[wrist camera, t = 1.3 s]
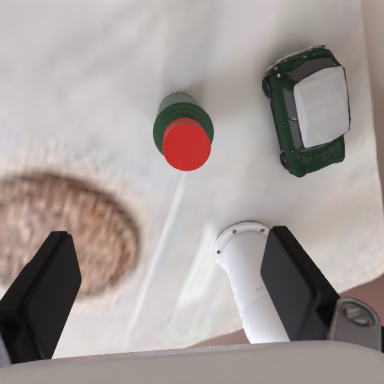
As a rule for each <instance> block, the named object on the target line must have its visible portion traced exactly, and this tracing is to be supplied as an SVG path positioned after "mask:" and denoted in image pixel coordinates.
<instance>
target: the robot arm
mask: <svg viewBox="0 0 384 384" xmlns="http://www.w3.org/2000/svg"><path fill="white" fill-rule="evenodd" d="M214 254H215V258H216V261H217V263H218V264H219V266H220V267H221V268H223V269H224V270H226V271H227V272H228V276H229V279H230V283H231V286H232V289H233V293H234V296H235V300H236V303H237V307H238V310H239V314H240V317H241V320H242V324H243V327H244V330H245V333H246V336H247V338H248V340H249V341H250V342H251V344H240V345H225V346H211V347H197V348H183V349H170V350H156V351H143V352H130V353H117V354H105V355H92V356H80V357H70V358H59V359H51V358H52V356H53V354H54V351H55V349H56V346H57V344H58V341H59V339H60V336H61V333H62V331H63V328H64V326H65V323H66V321H67V318H68V316H69V313H70V311H71V308H72V306H73V303H74V301H75V298H76V296H77V293H78V291H79V288H80V285H81V273H80V269H79V265H78V260H77V256H76V252H75V247H74V243H73V238H72V235H71V234H68V233H67V231H53V232H51V233H50V234H49V236H48V237H47V239H46V240H45V241H44V243H43V244H42V246H41V247H40V249H39V250H38V251H37V253H36V254H35V256H34V257H33V259H32V260H31V261H30V262H29V263H27V264H26V265H25V267H24V268H23V270H22V271H21V272H20V274H19V275H18V277H17V278H16V279H15V281H14V282H13V284H12V285H11V286H10V288H9V289H8V291H7V292H6V293H5V295H4V296H3V298H2V299H1V300H0V384H384V327H383V326H381V321H380V318H379V316H378V315H377V313H376V312H375V311H374V310H373V309H372V308H371V307H370V306H368V305H367V304H366V303H364V302H362V301H360V300H358V299H355V298H352V297H341V298H340V296H339V295H338V294H337V292H336V291H335V290H334V288H333V287H332V286H331V284H330V283H329V282H328V280H327V279H326V278H325V276H324V275H323V274H322V272H321V271H320V270H319V268H318V267H317V266H316V265H315V263H314V262H313V261H312V259H311V258H310V257H309V255H308V254H307V253H306V252H305V250H304V249H303V248H302V246H301V245H300V244H299V242H298V241H297V240H296V238H295V237H294V236H293V234H292V233H291V232H290V230H289V229H288V228H287V227H286V226H274V227H273V228H272V229H269V228H267V227H266V226H264V225H263V224H260V223H256V222H243V223H238V224H236V225H233V226H231V227H229V228H228V229H226V230H225V231H224V232H223V233H222V234H221V235H220V236H219V237H218V239H217V241H216V243H215V247H214Z"/></svg>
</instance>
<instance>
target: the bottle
mask: <svg viewBox="0 0 384 384" xmlns="http://www.w3.org/2000/svg"><path fill="white" fill-rule="evenodd" d="M181 117H188V118H192V119H194V120H196V121H197V122H199V123H200V124H201V126H202V127H203V129H204V130H205V132H206V134H207V135H208V137H209V140H210V144H212V141H213V136H214V129H213V124H212V121H211V119H210V117H209V115H208V114H207V113H206V112H205V110H204V109H203V108H202V107H201V106H200V105H199V104H198V103H197V102H196V101H195V100H194V99H193V98H192V97H191V96H189V95H187V94H184V93H174V94H171V95H169V96H168V97H166V98H165V99H164V100H163V101H162V103H161V105H160V107H159V110H158V114H157V117H156V120H155V123H154V128H153V137H154V142H155V144H156V147H157V148H158V150H159V151H160V153H161V154H162V155H163V156H164V153H163V140H164V133H165V130H166V128H167V126H168V125H169V124H170V123H171V122H172V121H173V120H175V119H177V118H181Z"/></svg>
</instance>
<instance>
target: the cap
mask: <svg viewBox="0 0 384 384" xmlns="http://www.w3.org/2000/svg"><path fill="white" fill-rule="evenodd" d="M210 151H211V144H210V140H209V137H208V135H207V134H206V132H205V130H204V129H203V127H202V126H201V124H200V123H199V122H197V121H196V120H194V119H192V118H188V117H181V118H177V119H175V120H173V121H172V122H171V123H170V124H169V125H168V126H167V128H166V130H165V133H164V140H163V153H164V156H165V159H166V160H167V162H168V163H169V164H170V165H171V166H172V167H174V168H176V169H178V170H181V171H192V170H195V169H197V168H199V167H201V166H202V165H203V164H204V163H205V162H206V161H207V159H208V157H209V155H210Z"/></svg>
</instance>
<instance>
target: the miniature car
mask: <svg viewBox="0 0 384 384" xmlns="http://www.w3.org/2000/svg"><path fill="white" fill-rule="evenodd" d="M316 47H319V48H316ZM313 48H314V49H313ZM325 48H326V47H325V45H321V46H310V47H307V48H305V49H302V50H299V51H297V52H294V53H292V54H290V55H288V56H286V57H284V58H282V59H280V60H278V61H277V62H275V63H274V64H272V65H271V66H269V67H268V68H267V69H266V71H265V72H267V71H268V69H270V68H272V67H273V66H274V67H273V68H272V70H271V71H270V73H269V74H270V75H269V74H268V75H269V76H267V77H264V79H263V80H262V88H263V90H264V93H265V95H266V96H267V97H268V98H269V99H270V98H272V99H271V102H270V103H271V109H272V114H273V118H274V123H275V127H276V132H277V136H278V140H279V145H280V149H281V150H283V152H282V151H281V152H282V153H281V154H280V160H281V164H282V165H283V167H284V168H285V169H287V170H288V171H290V172H289V173H290V174H293V175H295V176H297V177H303V176H305V175H306V173H311V172H314V171H317V170H320V169H322V168H324V167H326V166H328V165H331V164H333V163H339V162H342V161H343V160H344V158H345V143H344V136H343V135H344V134H345V133H346V132H347V131H349V130H350V120H351V117H350V108H349V98H348V89H347V83H346V76H345V69H344V68H343V67H342V66H341V64H340V63H339V62H338V61H337V60H336V59H335V57H334V56H333V52H332V51H330V50H329V49H325ZM307 50H308V51H307ZM304 51H305V52H304ZM302 52H303V53H302ZM299 53H300V54H299ZM296 54H298V55H296ZM294 55H295V56H294ZM291 56H293V57H291ZM289 57H290V58H289ZM287 58H288V59H287ZM285 59H286V60H285ZM283 60H284V61H283ZM281 61H283V62H281ZM279 62H281V63H279ZM276 64H277V65H276ZM275 65H276V66H275Z"/></svg>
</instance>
